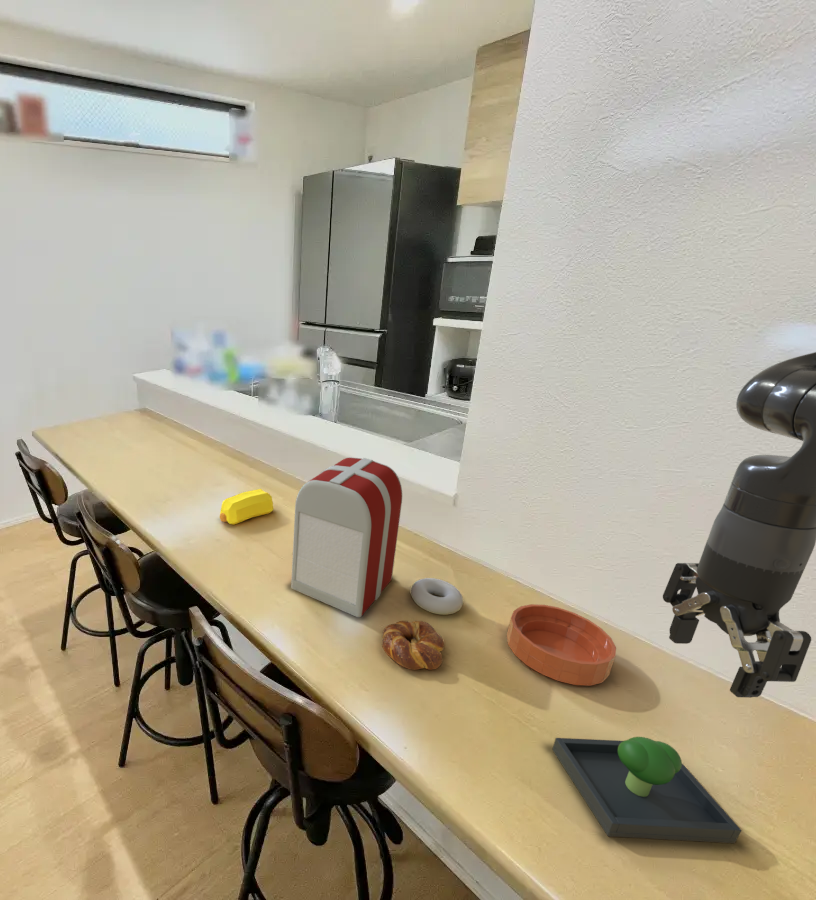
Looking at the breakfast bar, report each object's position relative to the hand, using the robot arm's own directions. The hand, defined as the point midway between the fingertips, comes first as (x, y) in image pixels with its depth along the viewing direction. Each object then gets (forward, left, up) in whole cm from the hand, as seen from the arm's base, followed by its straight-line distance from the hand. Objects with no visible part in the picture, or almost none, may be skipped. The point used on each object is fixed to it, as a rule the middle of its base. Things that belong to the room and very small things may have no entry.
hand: (708, 666), depth 60 cm
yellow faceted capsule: (+56, -74, -20) cm, 95 cm away
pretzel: (+26, -23, -20) cm, 40 cm away
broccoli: (+5, +2, -19) cm, 19 cm away
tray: (+5, +2, -19) cm, 20 cm away
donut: (+17, -37, -20) cm, 45 cm away
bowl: (+1, -23, -19) cm, 30 cm away
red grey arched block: (+35, -43, -20) cm, 59 cm away
